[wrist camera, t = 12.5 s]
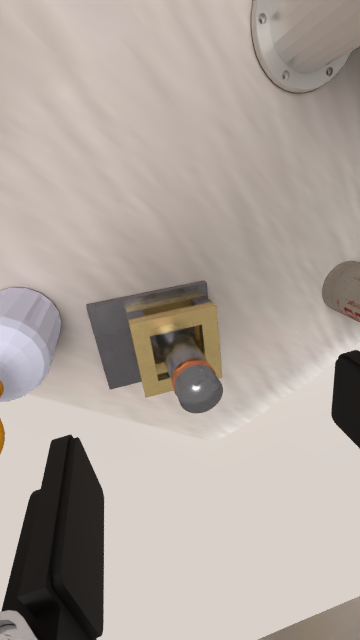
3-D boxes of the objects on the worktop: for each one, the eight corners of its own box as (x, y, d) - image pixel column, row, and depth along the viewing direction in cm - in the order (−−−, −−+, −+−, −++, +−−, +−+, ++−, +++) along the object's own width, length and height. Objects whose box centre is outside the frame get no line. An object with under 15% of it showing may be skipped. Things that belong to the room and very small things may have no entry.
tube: (185, 315, 41) (222, 369, 28) (188, 344, 43) (225, 406, 30) (152, 323, 40) (175, 381, 27) (157, 352, 42) (181, 419, 29)
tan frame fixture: (204, 280, 40) (221, 294, 35) (211, 359, 46) (227, 383, 40) (86, 304, 38) (84, 324, 32) (109, 385, 43) (110, 415, 37)
